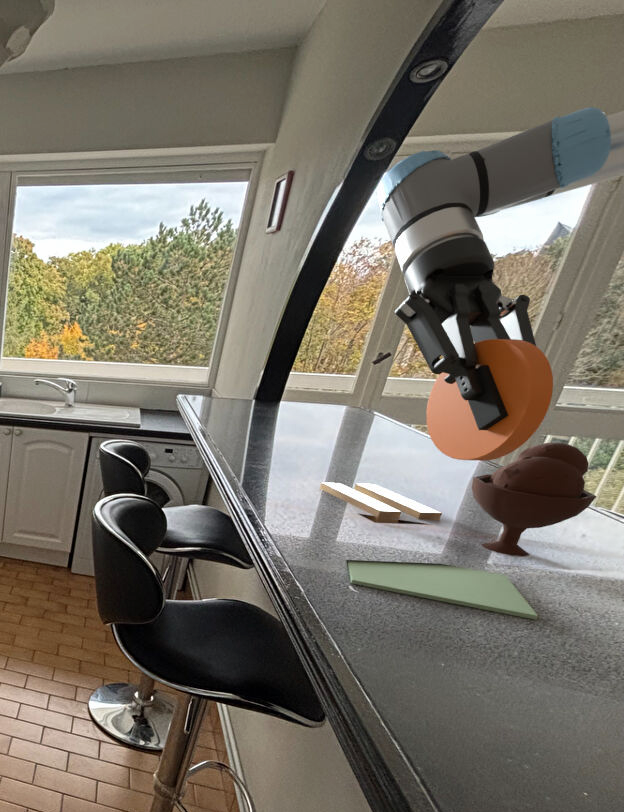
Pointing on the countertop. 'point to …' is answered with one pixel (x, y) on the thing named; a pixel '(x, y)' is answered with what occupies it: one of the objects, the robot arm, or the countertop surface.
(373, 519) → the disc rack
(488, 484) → the ice cream bowl
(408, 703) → the countertop surface
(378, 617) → the countertop surface
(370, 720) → the countertop surface
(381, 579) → the sage mat
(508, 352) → the orange disc
